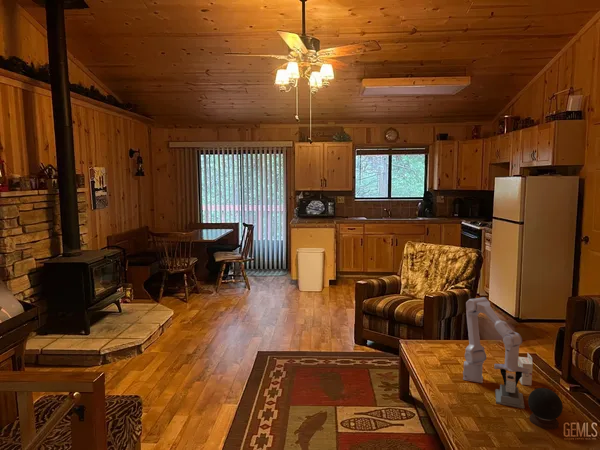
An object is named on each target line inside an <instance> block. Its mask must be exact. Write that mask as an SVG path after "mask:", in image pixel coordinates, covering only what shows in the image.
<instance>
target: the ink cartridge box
mask: <svg viewBox="0 0 600 450" xmlns="http://www.w3.org/2000/svg"><path fill="white" fill-rule="evenodd" d="M533 362H534V361H533V357H532V356H531V355H530V354H529V352H527V357H524V356H518V366H519V367H522V368H526V369H528V374H525V373H522V377H521V378H520V379H519V381H518V382H519V383H520V384H521V385H522V386H533V385H532V384H533V383H532V382H533V381H532V379H533V364H534V363H533Z"/></svg>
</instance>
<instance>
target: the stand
mask: <svg viewBox="0 0 600 450" xmlns="http://www.w3.org/2000/svg"><path fill="white" fill-rule="evenodd" d="M494 392H495V404H498V405H503V406H509V407H513V408H519V409H525V402H524V396H523V393H521V392H520V391H519V387H518V386H517V387H516V388H515V393H511V392H506V388H505V385H504V384H499V389H498V388H495V390H494Z"/></svg>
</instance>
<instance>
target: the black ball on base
mask: <svg viewBox="0 0 600 450" xmlns="http://www.w3.org/2000/svg"><path fill="white" fill-rule="evenodd" d="M527 401H528V402H527V403H528V404H527V405H528V408H529V409H530V412H532V413H531V414H530V415H529V421H530V422H531V424H533V426H536V427H538V428H541V429H545V430H552V431H553V430H557V429H558V428H559V426H560V423H559V421H558V420H557V419H558V418H559V417H560V416H561V415H562V412H563V409H564V406H563V405H564V404H563V402H562V399H561V397H560V396H559V395H558V394H557V393H556V392H555V391H554V390H551V389H549V388H547V387H538V388H535V389H533V390H532V391H531V392H530V393H529V395H528V398H527Z"/></svg>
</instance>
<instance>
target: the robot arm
mask: <svg viewBox="0 0 600 450" xmlns="http://www.w3.org/2000/svg"><path fill="white" fill-rule="evenodd" d="M465 309H466V311H465V312H466V324H467V332H468V334H467V335H468V343H469V344H468V345H467V346H466V347H465V352H464V359H465V360H464V361H463V371H462V375H463V377H462V380H463V381H470V382H473V383H478V384H479V383H480V384H483V383H484V381H483V379H484V378H483V377H484V376H483V365H484V363H485V361H486V360H487V353H486V351H485V347H484V346H482V344H481V339H480V328H479V318H478V317H479V314H480V313H482V314H484V315H485V316H486V317H487V318H488V319H489V320H490V321H491V322H492V323H493V324H494V329H495V330H496V332H497V333H498V334H499V335H500V336H501V337H502V342H503V344H504V349H505V352H504V353H505V354H504V363H494V370H499V371H500V375H501V376H502V380H503V385H506V373H507V371H509V373H514V372H515V373H514V374H515V380H516V387H518V386H517V385H518V383H519V382H520V381H519V379H520V378H521V377H522V373H525V374H528V369H526V368H522V367H519V366H518V357H520V356H519V353H520V345H522V344H523V338H522V336H521V334H520V333H518V332H516V331H514V330H513V329H512V328H511V327H510V326H509V324H508V322H507V321H505V320H501V319H500V317H499V316H498V315H497V313H496V312H495V310H494V309H493V308H492V307H491V302H490V301H489V300H488V299H487V297H485V296H482V297H477V298H476V297H475V298H469V299H468V300H467V301H466V302H465Z"/></svg>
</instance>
